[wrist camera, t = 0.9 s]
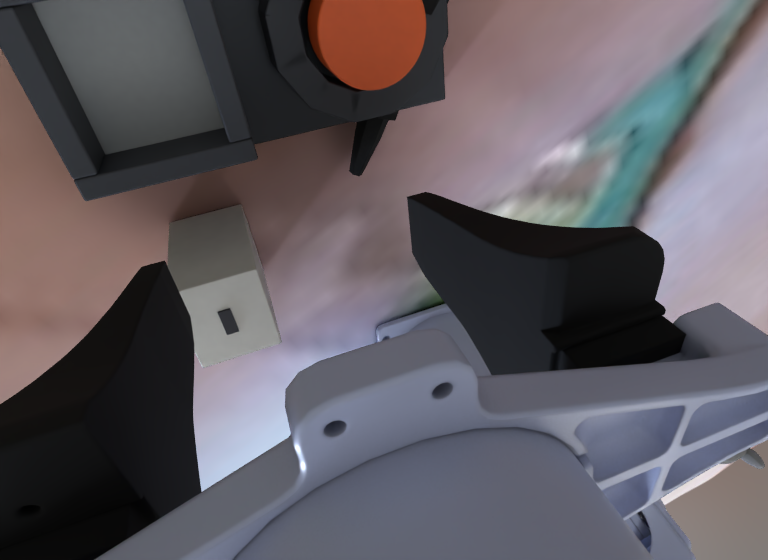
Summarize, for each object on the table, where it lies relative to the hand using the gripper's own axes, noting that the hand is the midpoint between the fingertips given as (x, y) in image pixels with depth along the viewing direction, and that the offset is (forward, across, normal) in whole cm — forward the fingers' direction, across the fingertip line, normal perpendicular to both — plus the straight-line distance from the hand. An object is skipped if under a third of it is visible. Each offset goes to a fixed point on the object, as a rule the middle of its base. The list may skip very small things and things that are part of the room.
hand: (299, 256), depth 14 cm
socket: (+10, +3, -4) cm, 11 cm away
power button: (+7, -5, -5) cm, 10 cm away
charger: (+10, +3, +4) cm, 11 cm away
